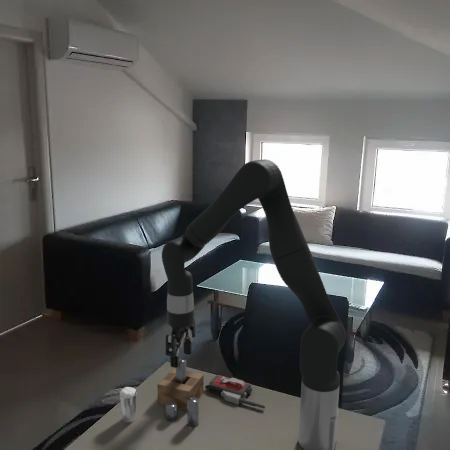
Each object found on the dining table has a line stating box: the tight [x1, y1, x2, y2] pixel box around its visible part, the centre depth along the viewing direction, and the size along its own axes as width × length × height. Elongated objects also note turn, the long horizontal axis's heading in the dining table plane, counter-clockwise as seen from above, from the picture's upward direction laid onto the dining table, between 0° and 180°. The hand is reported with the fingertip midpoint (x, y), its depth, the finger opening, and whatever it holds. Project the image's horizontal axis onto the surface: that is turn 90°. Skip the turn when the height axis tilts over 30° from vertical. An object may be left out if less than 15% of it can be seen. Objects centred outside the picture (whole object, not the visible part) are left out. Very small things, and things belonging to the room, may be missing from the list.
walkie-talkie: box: [204, 374, 266, 409], centre depth 145 cm, size 9×4×20 cm
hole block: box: [157, 367, 205, 411], centre depth 143 cm, size 10×10×6 cm
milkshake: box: [119, 386, 138, 424], centre depth 132 cm, size 5×5×10 cm
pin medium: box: [186, 398, 199, 428], centre depth 131 cm, size 3×3×7 cm
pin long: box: [176, 357, 187, 385], centre depth 142 cm, size 3×3×12 cm
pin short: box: [165, 402, 178, 423], centre depth 133 cm, size 3×3×4 cm
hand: (181, 360), depth 141 cm, fingers open, 8 cm apart
